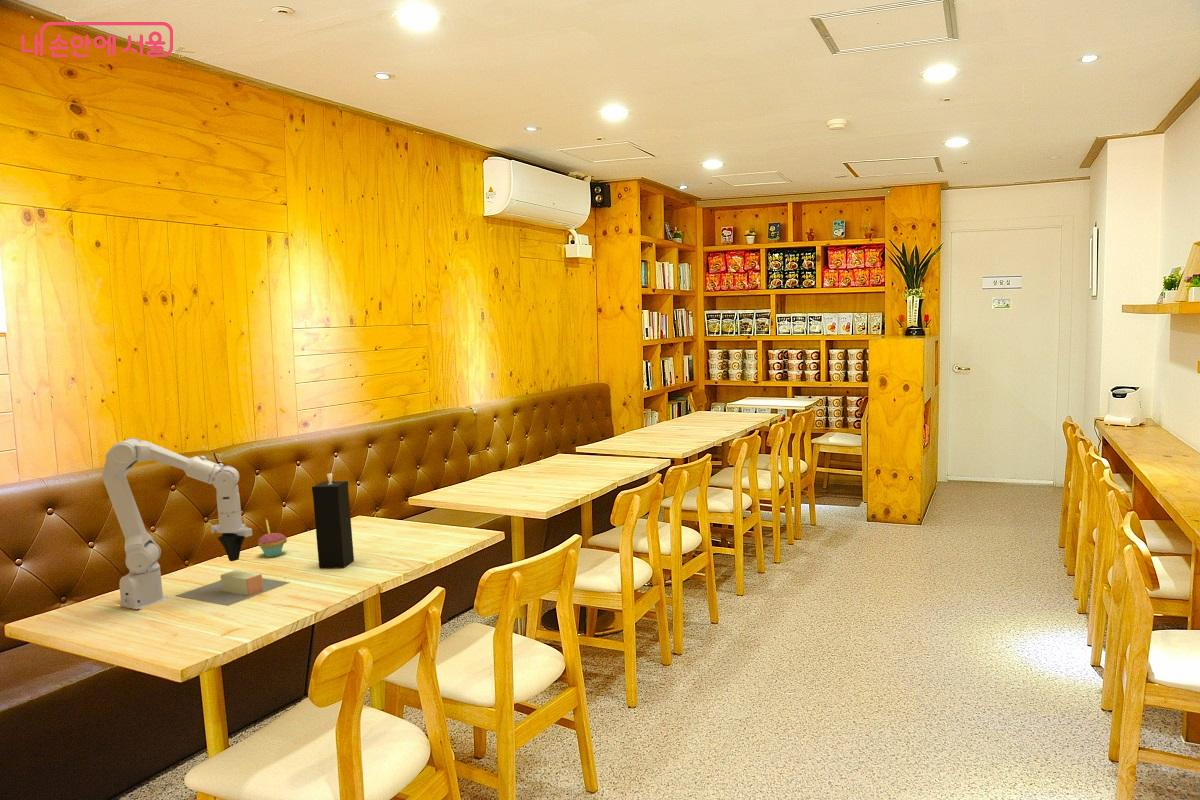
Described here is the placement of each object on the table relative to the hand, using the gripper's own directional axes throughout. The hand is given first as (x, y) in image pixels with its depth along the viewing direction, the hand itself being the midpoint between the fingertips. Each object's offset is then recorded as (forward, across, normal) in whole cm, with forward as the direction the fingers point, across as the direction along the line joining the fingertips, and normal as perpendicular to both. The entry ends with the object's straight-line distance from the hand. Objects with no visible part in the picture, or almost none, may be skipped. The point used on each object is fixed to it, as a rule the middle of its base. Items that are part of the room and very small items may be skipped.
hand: (234, 560), depth 226 cm
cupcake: (+9, +22, -30) cm, 38 cm away
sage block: (+6, +3, 0) cm, 7 cm away
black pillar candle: (+9, -8, -29) cm, 31 cm away
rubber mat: (+9, +2, 0) cm, 9 cm away
